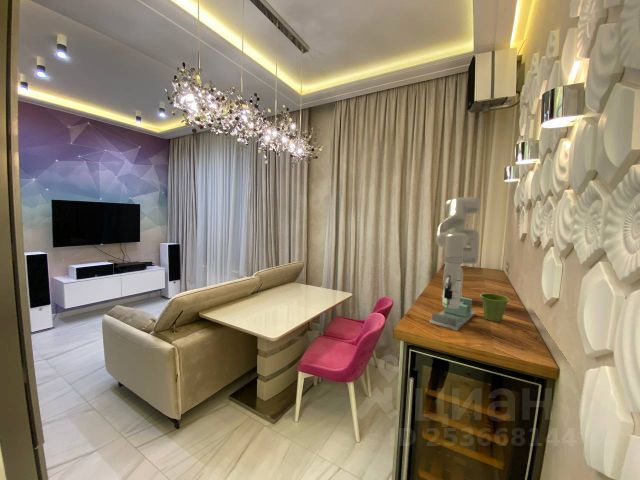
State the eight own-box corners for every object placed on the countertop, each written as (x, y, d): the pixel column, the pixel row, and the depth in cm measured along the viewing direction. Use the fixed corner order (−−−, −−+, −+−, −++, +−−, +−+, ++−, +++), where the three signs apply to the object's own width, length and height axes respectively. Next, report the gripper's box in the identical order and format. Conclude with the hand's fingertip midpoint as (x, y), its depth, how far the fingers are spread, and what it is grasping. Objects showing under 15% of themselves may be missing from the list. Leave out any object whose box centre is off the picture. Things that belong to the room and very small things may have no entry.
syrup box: (441, 304, 129) (443, 275, 127) (454, 304, 128) (455, 275, 127) (446, 308, 123) (448, 278, 122) (459, 308, 123) (461, 278, 121)
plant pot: (473, 314, 135) (474, 293, 134) (494, 314, 136) (496, 293, 135) (490, 324, 123) (491, 301, 122) (513, 323, 124) (515, 300, 123)
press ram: (451, 305, 143) (452, 294, 142) (472, 310, 136) (473, 299, 135) (443, 311, 134) (444, 299, 134) (465, 316, 127) (466, 304, 127)
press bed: (450, 308, 144) (450, 300, 144) (474, 314, 136) (475, 305, 135) (429, 322, 124) (430, 313, 124) (456, 330, 116) (457, 320, 116)
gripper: (451, 257, 132) (449, 291, 134) (438, 261, 120) (436, 298, 122) (467, 259, 127) (465, 294, 129) (455, 263, 115) (453, 302, 116)
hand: (451, 296), depth 125 cm, fingers closed on syrup box, 8 cm apart
